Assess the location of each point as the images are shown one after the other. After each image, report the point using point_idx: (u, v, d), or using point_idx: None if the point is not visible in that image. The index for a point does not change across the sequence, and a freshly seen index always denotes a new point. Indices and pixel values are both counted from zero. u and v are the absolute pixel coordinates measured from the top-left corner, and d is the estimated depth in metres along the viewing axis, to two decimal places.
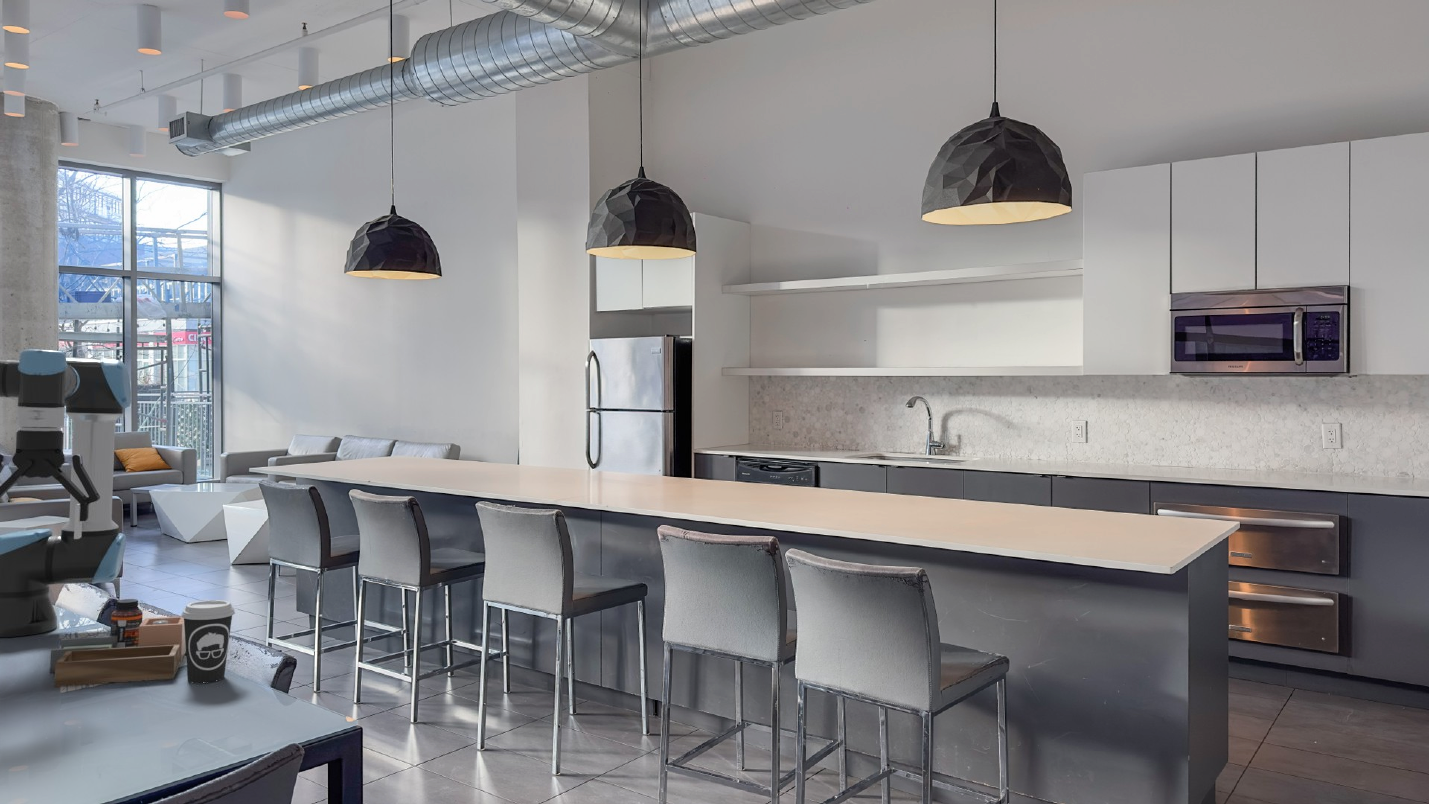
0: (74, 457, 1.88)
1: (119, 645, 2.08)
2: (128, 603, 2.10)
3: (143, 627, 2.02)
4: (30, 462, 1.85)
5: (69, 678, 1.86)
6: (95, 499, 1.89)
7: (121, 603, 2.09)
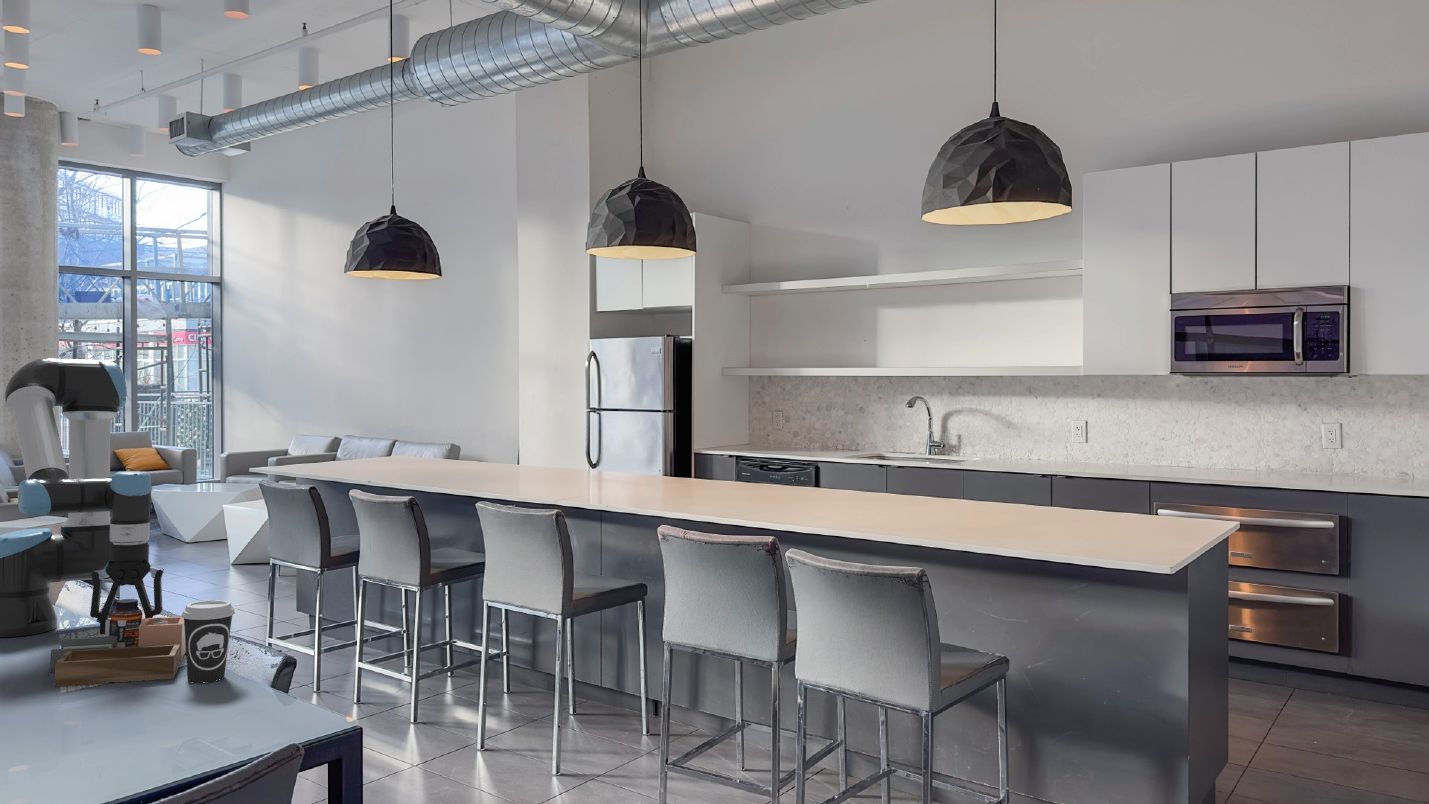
0: (158, 571, 2.12)
1: (119, 645, 2.08)
2: (128, 603, 2.09)
3: (143, 627, 2.02)
4: (121, 572, 2.09)
5: (69, 678, 1.86)
6: (158, 612, 2.12)
7: (121, 603, 2.09)
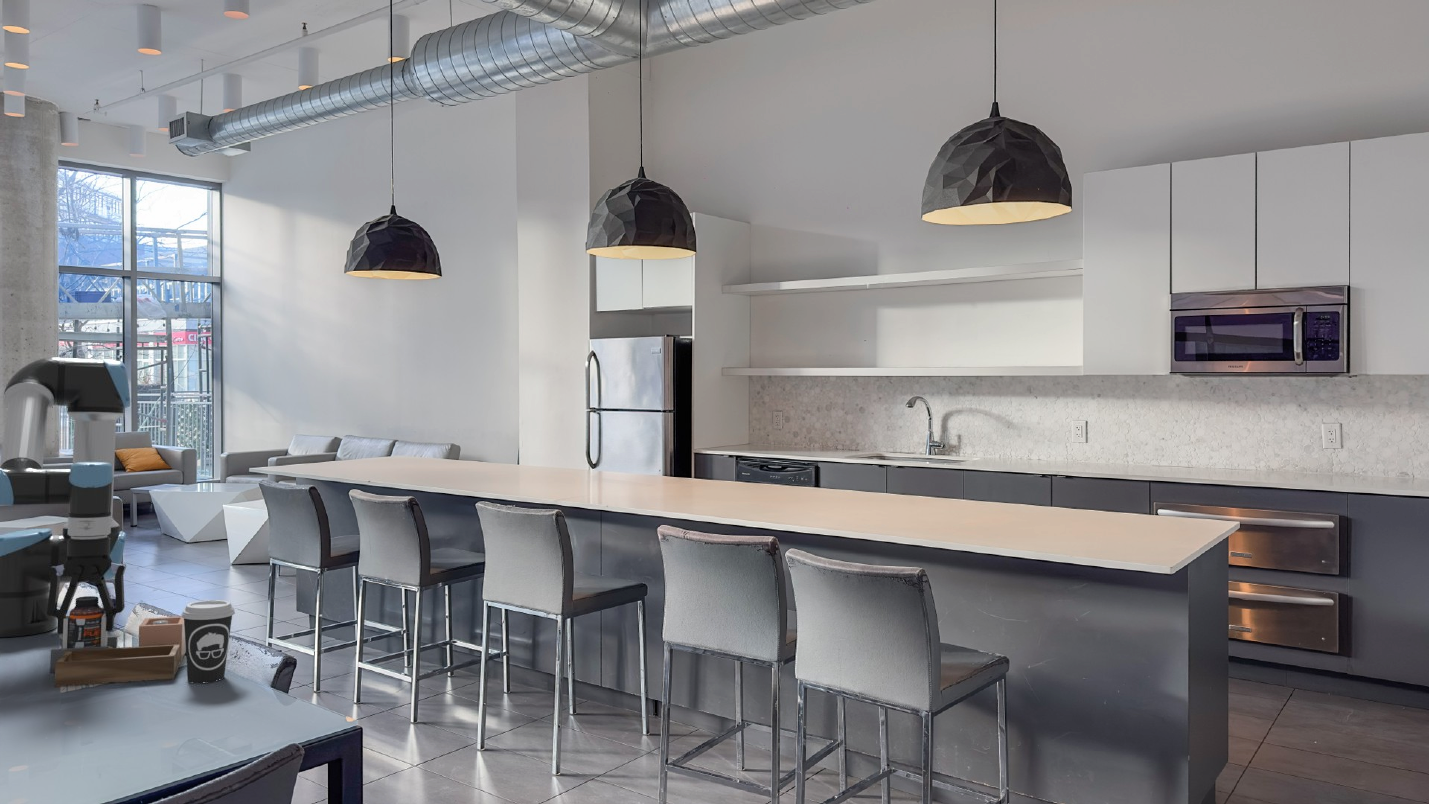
0: (120, 567, 2.02)
1: (77, 645, 1.97)
2: (87, 601, 1.99)
3: (143, 627, 2.02)
4: (80, 568, 1.98)
5: (69, 678, 1.86)
6: (120, 610, 2.02)
7: (80, 601, 1.98)
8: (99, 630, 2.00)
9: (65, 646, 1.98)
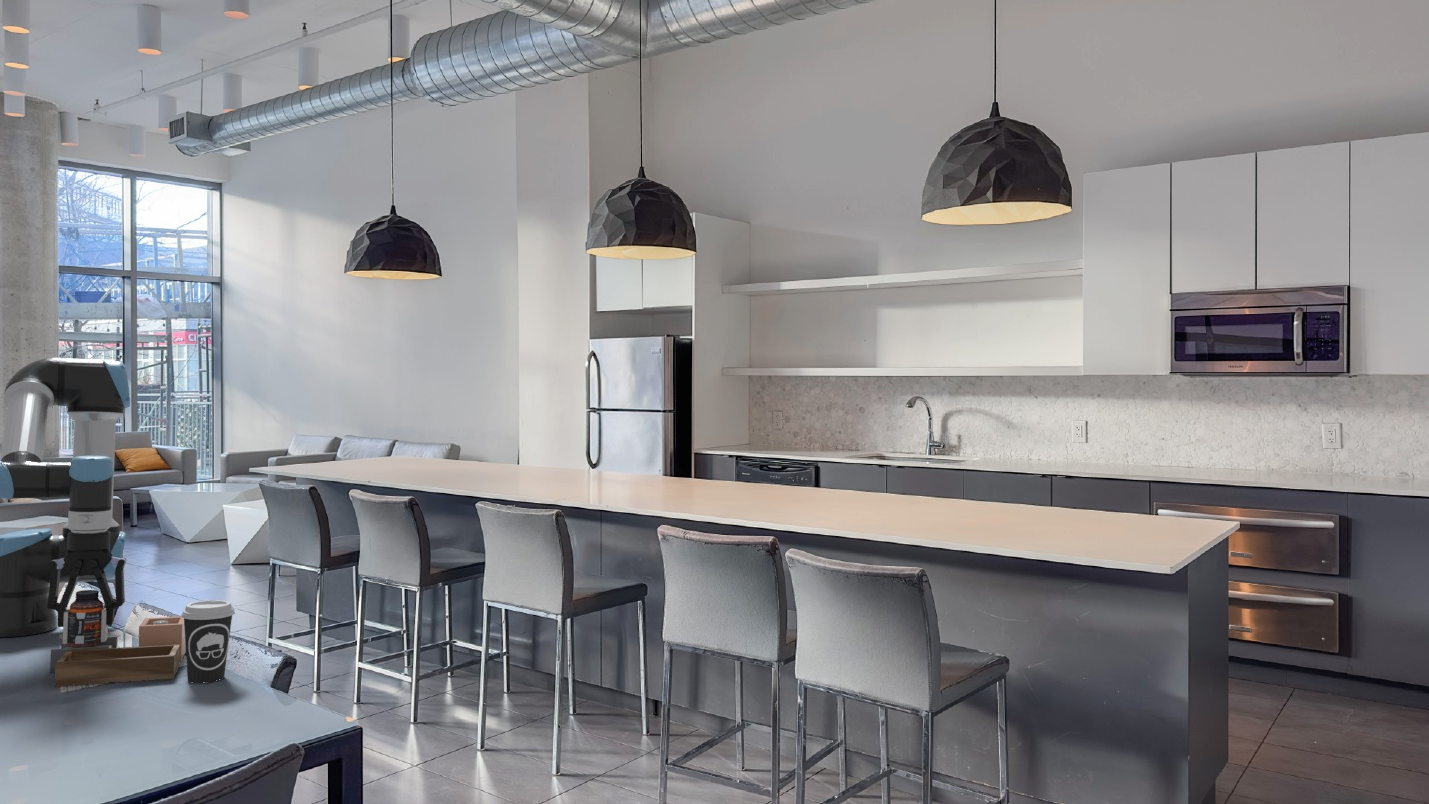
0: (120, 561, 2.02)
1: (77, 639, 1.98)
2: (87, 594, 1.99)
3: (143, 627, 2.02)
4: (80, 561, 1.98)
5: (69, 678, 1.86)
6: (120, 604, 2.02)
7: (80, 594, 1.99)
8: (99, 624, 2.01)
9: (65, 639, 1.98)
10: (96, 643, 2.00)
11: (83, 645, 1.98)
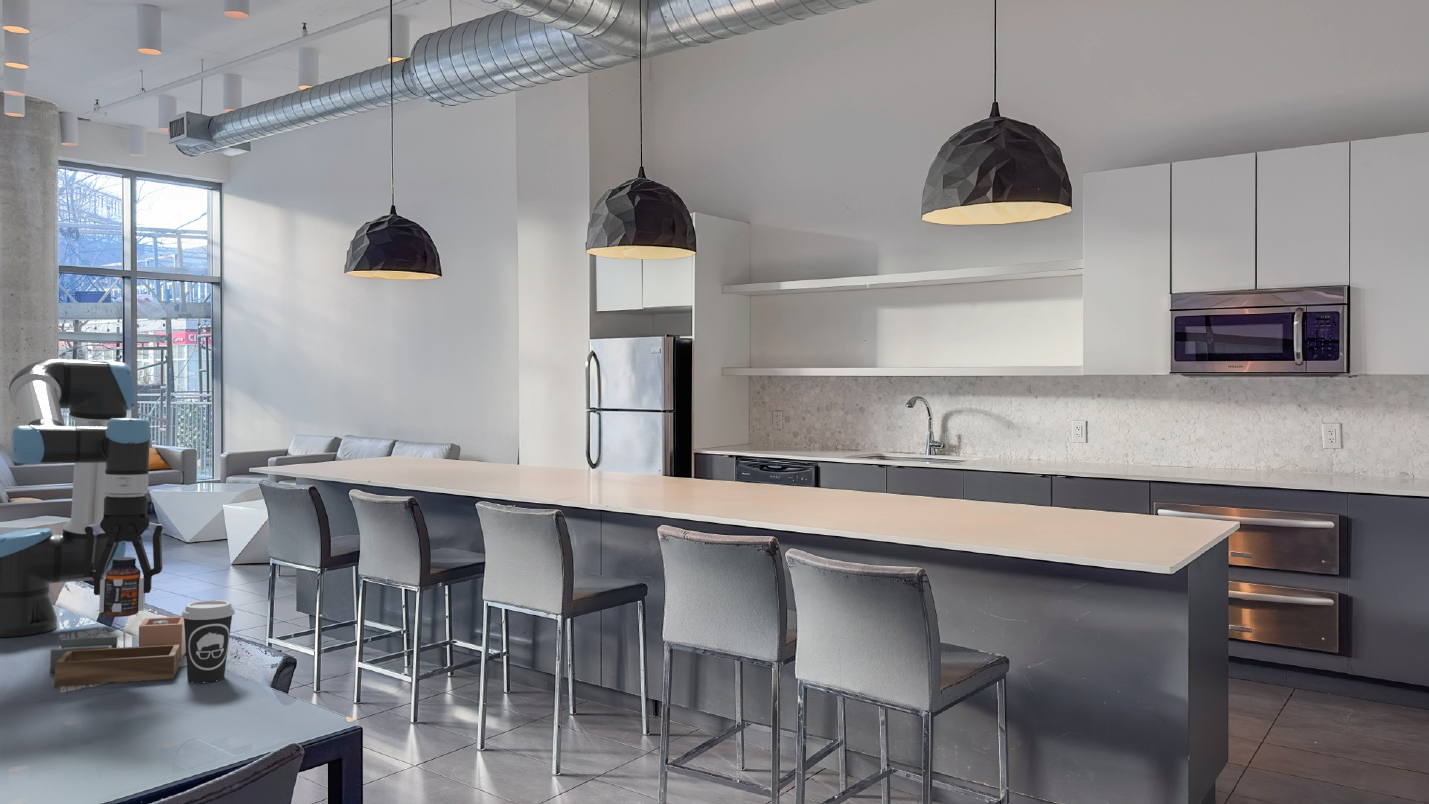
0: (158, 527, 1.95)
1: (115, 607, 1.90)
2: (125, 561, 1.92)
3: (143, 627, 2.02)
4: (117, 527, 1.91)
5: (69, 678, 1.86)
6: (158, 572, 1.95)
7: (117, 561, 1.91)
8: (137, 592, 1.93)
9: (102, 608, 1.91)
10: (133, 611, 1.92)
11: (120, 613, 1.91)
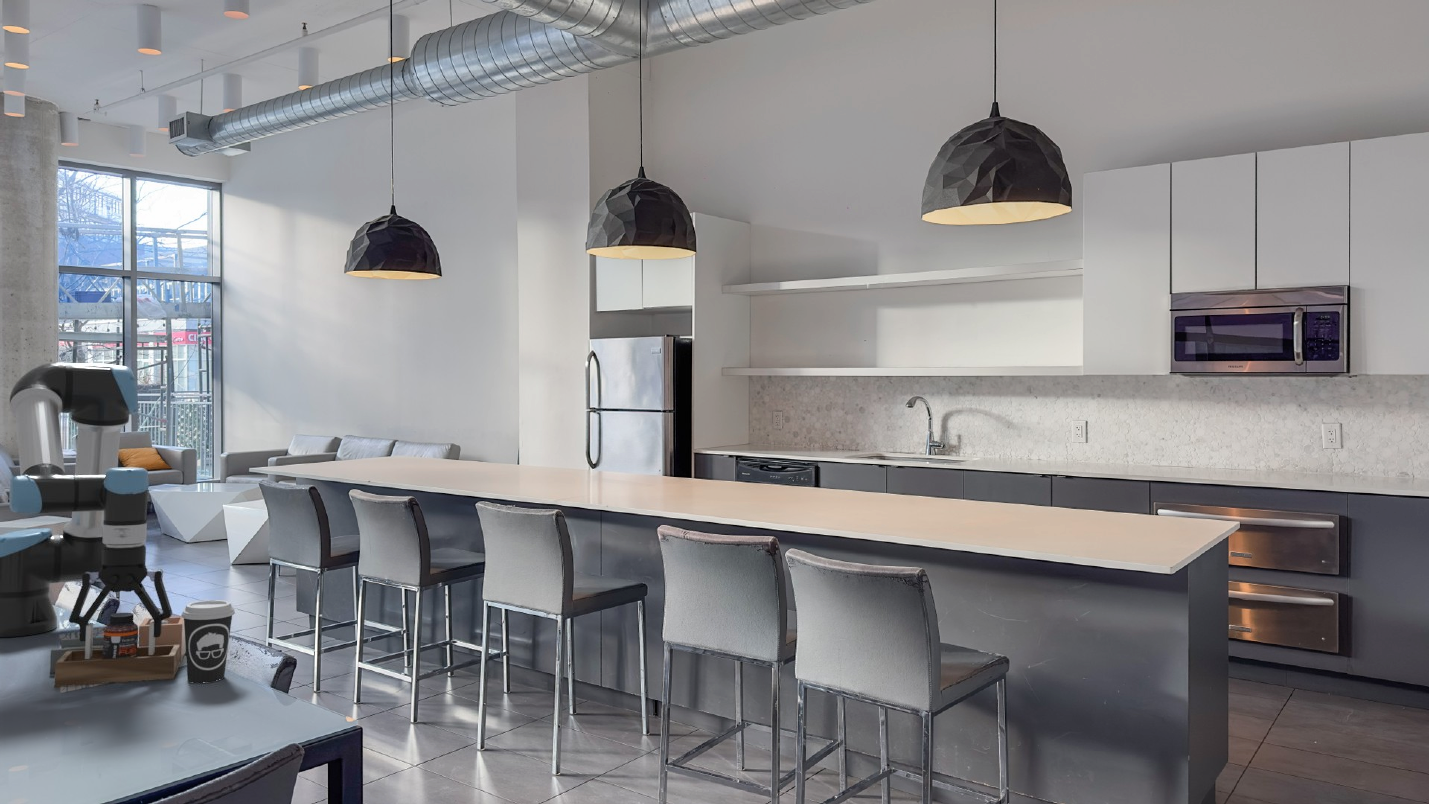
0: (156, 573, 1.95)
1: None
2: (122, 617, 1.92)
3: (143, 627, 2.02)
4: (115, 577, 1.91)
5: (69, 678, 1.86)
6: (168, 616, 1.95)
7: (115, 617, 1.91)
8: (134, 648, 1.93)
9: (88, 654, 1.90)
10: None
11: None
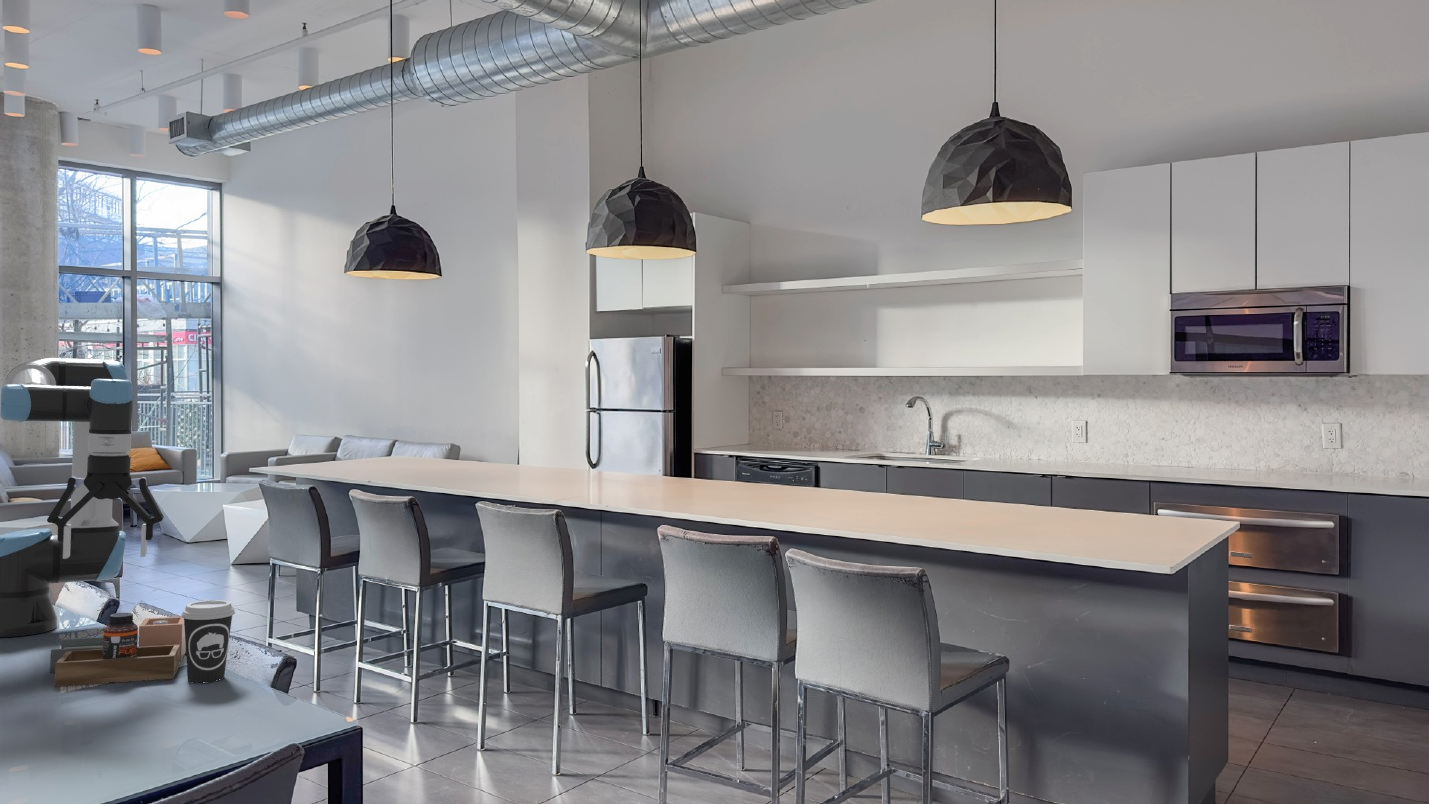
0: (141, 480, 2.00)
1: None
2: (122, 617, 1.92)
3: (143, 627, 2.02)
4: (100, 485, 1.96)
5: (69, 678, 1.86)
6: (160, 519, 2.01)
7: (114, 617, 1.91)
8: (134, 648, 1.93)
9: (65, 554, 1.95)
10: None
11: None
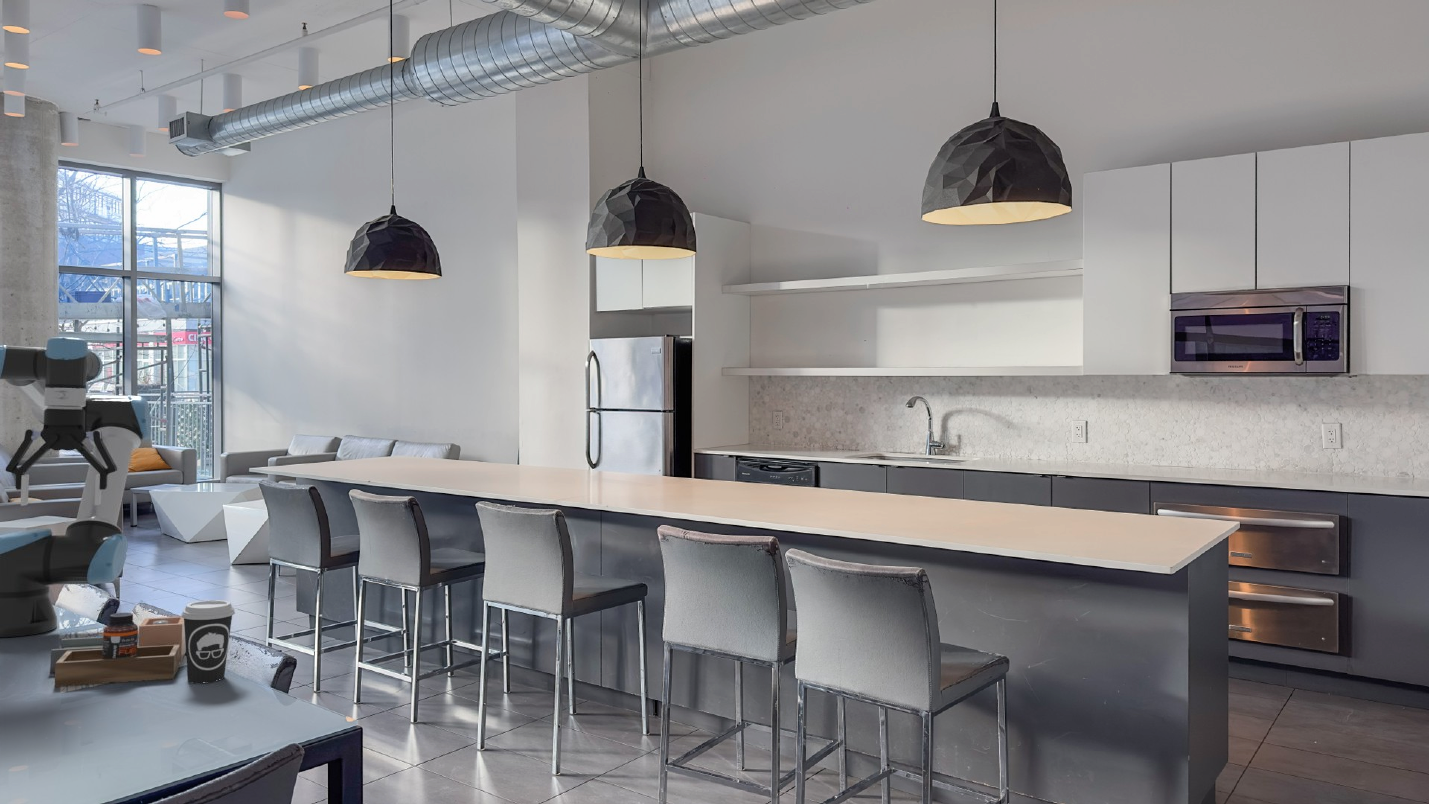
0: (95, 432, 2.12)
1: None
2: (122, 617, 1.92)
3: (143, 627, 2.02)
4: (56, 436, 2.09)
5: (69, 678, 1.86)
6: (113, 470, 2.14)
7: (114, 617, 1.91)
8: (134, 648, 1.93)
9: (23, 501, 2.07)
10: None
11: None
